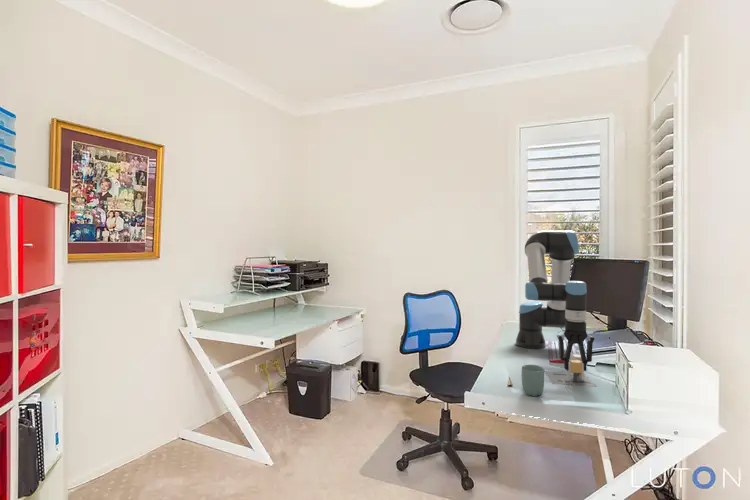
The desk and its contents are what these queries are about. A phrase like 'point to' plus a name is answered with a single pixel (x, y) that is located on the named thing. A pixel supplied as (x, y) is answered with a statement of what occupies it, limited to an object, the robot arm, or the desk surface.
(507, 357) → the desk surface
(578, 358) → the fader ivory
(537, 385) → the cup
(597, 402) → the desk surface
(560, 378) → the mixer console
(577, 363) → the fader amber
